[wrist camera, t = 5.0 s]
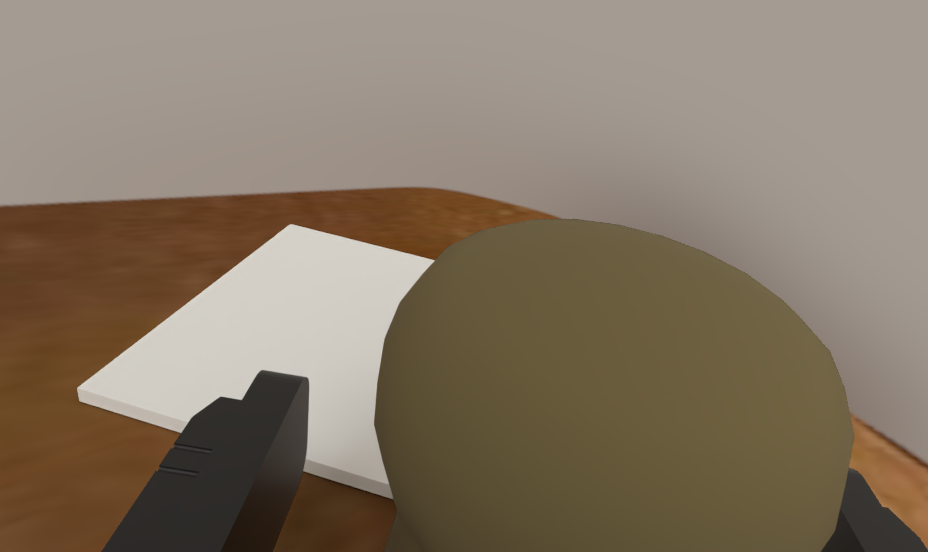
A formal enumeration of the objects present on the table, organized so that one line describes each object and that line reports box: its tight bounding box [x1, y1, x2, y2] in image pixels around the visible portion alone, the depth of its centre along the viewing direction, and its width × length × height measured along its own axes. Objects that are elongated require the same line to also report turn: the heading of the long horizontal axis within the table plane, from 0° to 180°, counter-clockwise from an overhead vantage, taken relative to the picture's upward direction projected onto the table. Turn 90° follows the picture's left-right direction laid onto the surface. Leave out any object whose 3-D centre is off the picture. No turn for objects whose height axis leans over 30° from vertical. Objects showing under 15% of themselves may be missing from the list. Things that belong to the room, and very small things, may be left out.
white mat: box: [77, 224, 435, 499], centre depth 23 cm, size 13×13×1 cm
